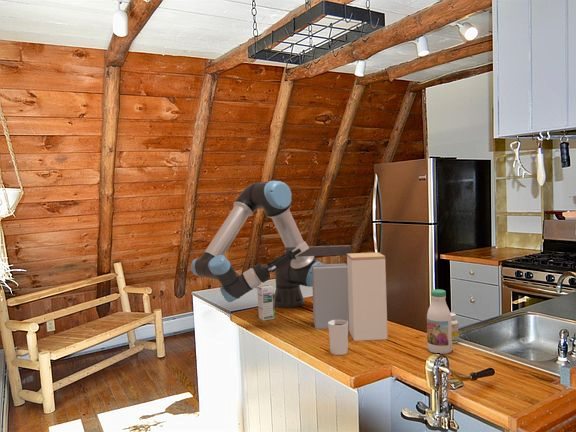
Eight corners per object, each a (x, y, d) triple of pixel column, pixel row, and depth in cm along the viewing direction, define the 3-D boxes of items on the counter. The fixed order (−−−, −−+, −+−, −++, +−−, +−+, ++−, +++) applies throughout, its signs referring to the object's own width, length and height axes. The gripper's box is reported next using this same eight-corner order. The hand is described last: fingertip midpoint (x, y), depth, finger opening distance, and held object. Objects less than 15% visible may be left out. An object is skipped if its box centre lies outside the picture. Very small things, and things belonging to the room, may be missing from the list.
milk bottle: (434, 344, 155) (433, 287, 154) (456, 349, 149) (455, 289, 148) (423, 351, 149) (421, 291, 148) (445, 356, 144) (443, 294, 143)
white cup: (345, 347, 155) (344, 318, 155) (351, 354, 149) (350, 324, 148) (326, 349, 154) (325, 320, 154) (332, 356, 148) (331, 326, 147)
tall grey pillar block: (313, 322, 187) (311, 264, 186) (347, 321, 187) (345, 263, 186) (315, 329, 178) (313, 268, 177) (351, 327, 178) (349, 267, 177)
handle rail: (285, 255, 182) (285, 247, 182) (349, 253, 183) (349, 245, 183) (285, 256, 179) (285, 248, 179) (351, 254, 179) (350, 246, 179)
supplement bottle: (458, 344, 154) (457, 316, 154) (441, 343, 156) (441, 315, 156) (458, 339, 159) (458, 312, 159) (442, 338, 161) (442, 311, 161)
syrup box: (263, 321, 192) (261, 287, 191) (258, 317, 197) (257, 284, 197) (275, 319, 194) (274, 285, 194) (270, 316, 200) (269, 283, 199)
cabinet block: (349, 331, 173) (346, 253, 172) (380, 330, 173) (378, 252, 172) (354, 340, 162) (351, 257, 161) (387, 339, 162) (385, 256, 161)
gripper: (262, 279, 189) (310, 250, 189) (261, 287, 172) (313, 255, 172) (253, 264, 189) (301, 234, 189) (251, 270, 172) (303, 238, 172)
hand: (307, 244), depth 181 cm, fingers closed on handle rail, 3 cm apart
